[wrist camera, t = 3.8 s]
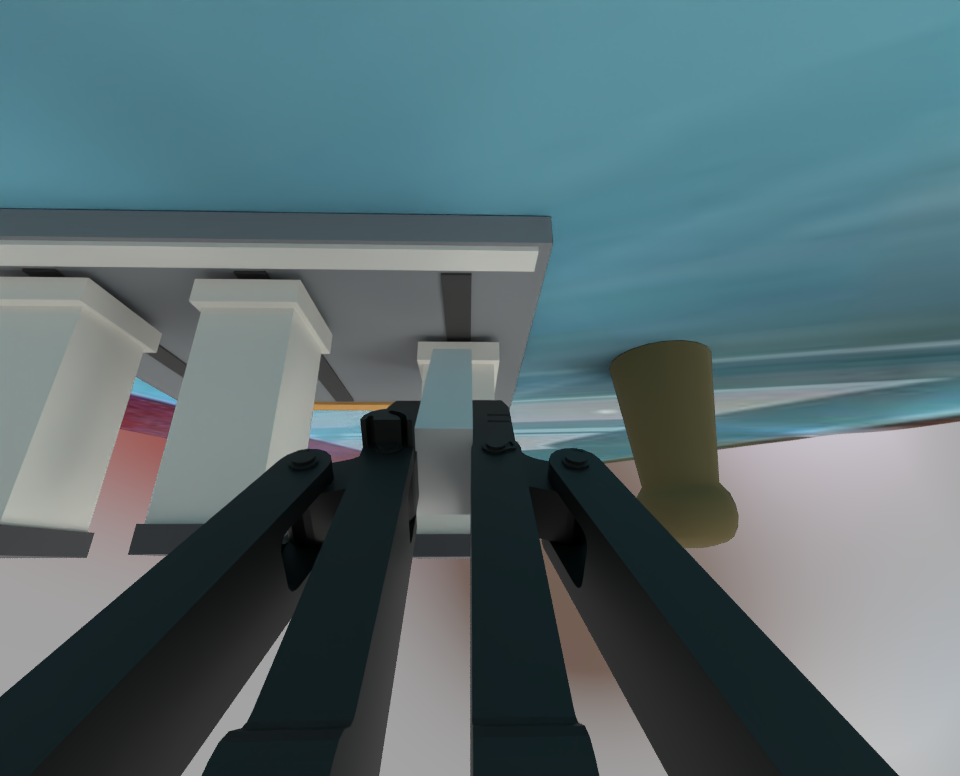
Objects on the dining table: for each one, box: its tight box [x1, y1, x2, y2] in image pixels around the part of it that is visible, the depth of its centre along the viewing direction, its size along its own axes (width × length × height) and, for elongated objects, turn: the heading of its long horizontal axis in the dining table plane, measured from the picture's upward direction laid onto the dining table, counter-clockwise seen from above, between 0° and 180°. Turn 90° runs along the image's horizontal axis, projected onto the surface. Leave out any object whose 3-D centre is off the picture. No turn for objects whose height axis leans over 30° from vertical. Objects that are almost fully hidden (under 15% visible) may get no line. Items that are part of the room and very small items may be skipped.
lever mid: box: [128, 279, 333, 556], centre depth 17 cm, size 4×4×10 cm
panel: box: [0, 209, 553, 410], centre depth 24 cm, size 18×23×1 cm
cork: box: [609, 341, 738, 548], centre depth 26 cm, size 6×6×11 cm
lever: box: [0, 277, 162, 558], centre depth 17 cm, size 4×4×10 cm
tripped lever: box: [413, 342, 500, 559], centre depth 22 cm, size 4×4×10 cm
